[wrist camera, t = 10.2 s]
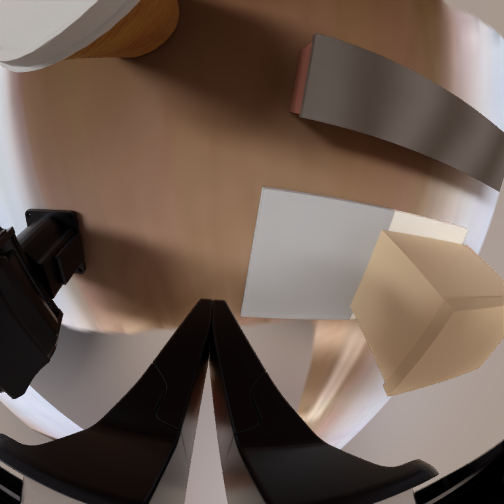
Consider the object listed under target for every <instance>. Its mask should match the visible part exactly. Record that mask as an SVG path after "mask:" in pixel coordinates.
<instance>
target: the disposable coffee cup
mask: <svg viewBox="0 0 504 504" xmlns="http://www.w3.org/2000/svg"><path fill="white" fill-rule="evenodd" d="M179 14H180V11H179V5H178V0H0V65H1V66H2V67H3V68H5V69H7V70H10V71H15V72H28V71H33V70H39V69H42V68H45V67H47V66H50V65H53V64H55V63H57V62H59V61H61V60H63V59H75V58H92V57H93V58H96V57H99V58H101V57H122V58H133V57H139V56H142V55H144V54H147V53H149V52H151V51H153V50H155V49H156V48H158V47H159V46H161V45H162V44H163V43H164V42H165V41H166V40H167V39H168V38H169V37H170V36H171V34H172V33H173V32H174V30H175V28H176V26H177V23H178V20H179Z"/></svg>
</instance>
